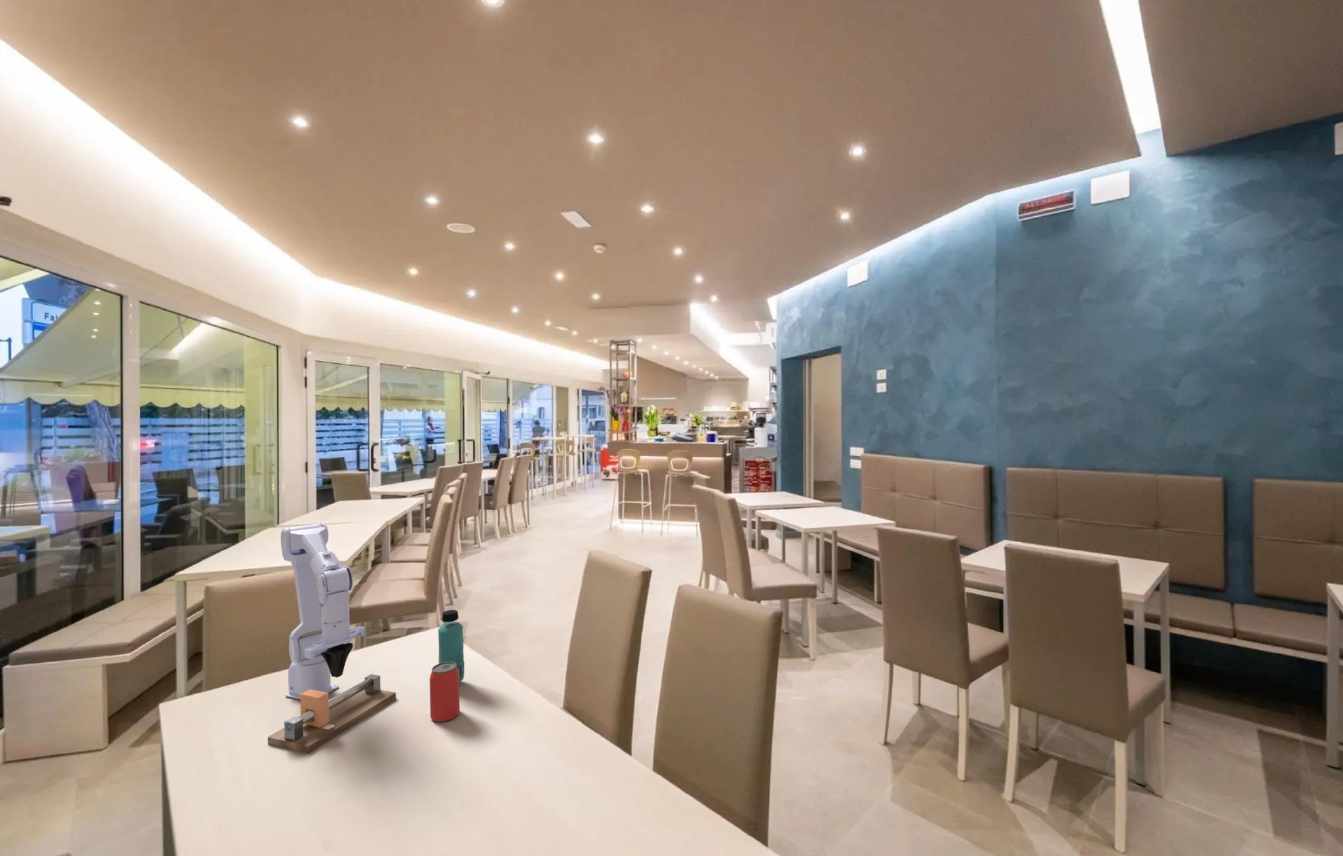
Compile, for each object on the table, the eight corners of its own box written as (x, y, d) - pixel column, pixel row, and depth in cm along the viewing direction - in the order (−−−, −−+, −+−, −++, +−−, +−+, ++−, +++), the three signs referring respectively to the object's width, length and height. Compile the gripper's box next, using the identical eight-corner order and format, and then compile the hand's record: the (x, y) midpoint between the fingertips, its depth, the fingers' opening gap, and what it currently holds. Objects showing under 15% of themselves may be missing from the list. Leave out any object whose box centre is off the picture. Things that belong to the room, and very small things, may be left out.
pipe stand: (284, 739, 120) (284, 721, 120) (371, 689, 142) (371, 674, 142) (294, 741, 119) (294, 723, 119) (380, 690, 141) (380, 675, 141)
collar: (301, 723, 125) (300, 694, 125) (310, 717, 127) (310, 689, 127) (319, 727, 123) (318, 697, 123) (328, 721, 126) (328, 692, 126)
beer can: (464, 709, 135) (463, 661, 134) (451, 724, 128) (450, 673, 128) (439, 708, 135) (438, 660, 135) (424, 722, 129) (423, 672, 129)
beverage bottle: (455, 692, 143) (454, 616, 143) (433, 689, 144) (431, 615, 144) (469, 680, 149) (468, 608, 149) (448, 678, 151) (446, 606, 150)
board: (267, 743, 121) (267, 736, 121) (359, 691, 144) (359, 685, 144) (307, 753, 117) (307, 746, 117) (395, 698, 140) (395, 692, 140)
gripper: (320, 633, 123) (321, 692, 123) (373, 611, 136) (374, 664, 137) (297, 629, 125) (298, 688, 125) (352, 608, 138) (353, 661, 139)
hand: (336, 675), depth 131 cm, fingers closed
